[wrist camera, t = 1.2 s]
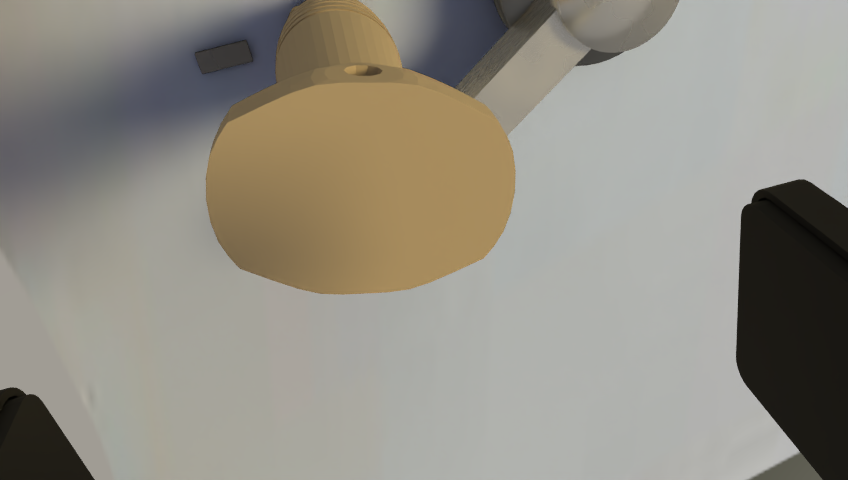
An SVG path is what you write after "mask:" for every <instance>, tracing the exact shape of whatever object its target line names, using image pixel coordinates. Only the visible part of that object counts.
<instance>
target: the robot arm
mask: <svg viewBox="0 0 848 480" xmlns="http://www.w3.org/2000/svg"><path fill="white" fill-rule="evenodd" d="M736 362H737V366H738V370H739V373H740V375H741V377H742V379H743V381H744V383H745V384H746V385H747V387H748V388H749V389H750V390H751V392H752V393H753V394H754V395H755V397H756V398H757V399H758V400H759V402H760V403H761V404H762V405H763V406H764V408H765V409H766V410H767V411H768V413H769V414H770V415H771V416H772V418H773V419H774V420H775V421H776V423H777V424H778V425H779V426H780V427H781V429H782V430H783V431H784V432H785V434H786V435H787V436H788V437H789V439H790V440H791V441H792V442H793V443H794V445H795V446H796V447H797V448H798V450H799V451H800V452H801V453H802V454H803V455H804V457H805V458H806V459H807V461H808V462H809V463H810V464H811V466H812V467H813V468H814V469H815V471H816V472H817V473H818V474H819V475H820V477H821V478H822V479H823V480H848V208H847V207H845V206H844V205H842V204H841V203H840V202H838V201H837V200H835V199H834V198H832V197H831V196H829V195H828V194H827V193H825V192H824V191H822V190H821V189H819V188H818V187H816V186H815V185H813V184H812V183H811V182H808V181H806V180H804V179H803V180H795V181H791V182H787V183H784V184H780V185H776V186H772V187H768V188H765V189H761V190H758V191H757V192H756V193H755V194H754V196H753V198H752V203H751V204H747V205H746V206H744V208H743V210H742V214H741V234H740V262H739V290H738V318H737V346H736ZM0 480H94V478H93V477H92V475H91V474H90V472H89V471H88V469H87V468H86V466H85V465H84V463H83V462H82V461H81V459H80V457H79V456H78V454H77V453H76V451H75V450H74V448H73V447H72V445H71V444H70V442H69V441H68V439H67V438H66V436H65V435H64V433H63V432H62V430H61V429H60V427H59V426H58V424H57V423H56V421H55V420H54V418H53V417H52V415H51V414H50V413H49V411H48V409H47V408H46V406H45V405H44V404H43V402H42V401H41V400H40V398H39V397H37V396H36V395H32V394H29V395H26V394H25V393H24V392H23V391H21V390H20V389H18V388H7V389H3V390H0Z"/></svg>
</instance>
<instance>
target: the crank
mask: <svg viewBox="0 0 848 480" xmlns="http://www.w3.org/2000/svg"><path fill="white" fill-rule="evenodd" d="M678 2H679V0H535V1H534V2H533V3H532V4H531V6H530V7H529V8H528V9H527V10H526V11H525V12H524V13H523V14H522V15H521V16H520V18H519V19H518V20H517V21H516V22H515V23H514V24H513V25H512V26H511V27H510V28H509V29H508V31H507V32H506V33H505V34H504V35H503V36H502V37H501V38H500V39H499V40H498V41H497V43H496V44H495V45H494V46H493V47H492V48H491V49H490V50H489V51H488V52H487V53H486V54H485V56H484V57H483V58H482V59H481V60H480V61H479V62H478V63H477V64H476V65H475V66H474V67H473V69H472V70H471V71H470V72H469V73H468V74H467V75H466V76H465V77H464V78H463V79H462V81H461V82H460V83H459V84H458V85H457V86H456V87H455V88H454V89H456V90H458V91H460V92H462V93H464V94H466V95H468V96H470V97H472V98H474V99H476V100H478V101H479V102H481V103H483V104H485V105H486V106H487V107H488V108H489V109H490V110H491V112H492V113H493V114H494V116H495V117H496V118H497V120H498V121H499V123H500V125H501V126H502V128H503V130H504V132H505V133H506V135H508V134H509V133H510V132H511V131H512V130H513V129H514V128H515V127H516V126H517V125H518V124H519V123H520V122H521V121H522V120H523V119H524V118H525V117H526V116H527V115H528V114H529V113H530V112H531V111H532V110H533V108H534V107H535V106H536V105H537V104H538V103H539V102H540V101H541V100H542V99H543V98H544V97H545V96H546V95H547V94H548V93H549V92H550V91H551V90H552V89H553V88H554V87H555V86H556V85H557V84H558V83H559V82H560V81H561V80H562V79H563V78H564V76H565V75H566V74H567V73H568V72H569V71H570V70H571V69H572V68H573V67H574V66H575V65H576V64H577V63H578V62H579V61H580V60H581V59H582V58H583V57H584V56H585V55H586V54H587V53H588V52H589V51H590V50H591V49H593V50H596V51H600V52H607V53H617V52H624V51H627V50H631V49H633V48H636V47H638V46H640V45H642V44H644V43H645V42H647V41H648V40H650V39H651V38H652V37H654V36H655V35H656V34H657V33H658V32H659V31H660V30H661V29H662V28H663V27H664V26H665V25H666V23H667V22H668V20H669V19H670V18H671V16H672V14H673V12H674V11H675V9H676V6H677V4H678Z"/></svg>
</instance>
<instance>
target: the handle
mask: <svg viewBox="0 0 848 480" xmlns="http://www.w3.org/2000/svg"><path fill="white" fill-rule="evenodd" d="M275 71H276V72H275V73H276V81H277V83H276V84H274V85H272V86H269V87H267V88H265V89H263V90H261V91H259V92H257V93H255V94H253V95H251V96H249V97H247V98H246V99H244V100H242V101H240V102H238V103H236V104H234V105H233V106H232V107H231V108H230V110H229V111H228V113H227V115H226V116H225V118H224V119H223V121H222V123H221V125H220V127H219V129H218V132H217V134H216V136H215V139H214V141H213V145H212V148H211V152H210V156H209V162H208V168H207V174H206V201H207V206H208V211H209V216H210V221H211V224H212V227H213V229H214V232H215V234H216V237H217V239H218V242H219V243H220V245H221V246H222V248H223V249H224V250H225V252H226V253H227V255H228V256H229V257H230V258H231V260H232V261H233V262H234V263H235V264H236V265H237V266H238V267H239V268H240V269H242V270H245V271H248V272H251V273H254V274H256V275H259V276H262V277H265V278H268V279H270V280H273V281H276V282H279V283H282V284H285V285H288V286H292V287H295V288H298V289H302V290H306V291H311V292H315V293H320V294H361V293H382V292H392V291H400V290H407V289H411V288H414V287H417V286H420V285H424V284H427V283H430V282H432V281H434V280H437V279H439V278H441V277H444V276H446V275H448V274H450V273H453V272H455V271H457V270H459V269H461V268H464V267H466V266H468V265H470V264H472V263H475V262H477V261H479V260H481V259H483V258H484V257H485V256H486V255H487V254H488V253H489V251H490V250H491V249H492V248H493V247H494V245H495V244H496V242H497V241H498V239H499V237H500V236H501V234H502V233H503V231H504V228H505V226H506V223H507V221H508V218H509V215H510V212H511V207H512V203H513V198H514V193H515V164H514V157H513V150H512V148H511V145H510V143H509V140H508V138H507V135H506V133H505V132H504V130H503V128H502V126H501V125H500V123H499V121H498V120H497V118H496V117H495V116H494V114H493V113H492V112H491V110H490V109H489V108H488V107H487V106H486V105H485V104H483V103H481V102H479V101H478V100H476V99H474V98H472V97H470V96H468V95H466V94H464V93H462V92H460V91H458V90H456V89H454V88H453V87H451V86H448V85H446V84H444V83H442V82H439V81H437V80H435V79H433V78H430V77H428V76H425V75H423V74H420V73H417V72H415V71H412V70H409V69H405V68H402V64H401V60H400V56H399V53H398V50H397V48H396V45H395V43H394V41H393V39H392V37H391V35H390V34H389V32H388V30H387V29H386V27H385V26H384V24H383V23H382V22H381V21H380V20H379V18H378V17H377V16H376V15H375V14H374V13H373V12H372V11H371V10H370V9H369V8H368V7H366V6H365V5H364V4H362V3H360V2H359V1H357V0H306V1H305V2H303V3H302V4H300V5H299V6H295V7H294V8H292V10H291V12H290V14H289V16H288V19H287V21H286V23H285V25H284V27H283V30H282V32H281V35H280V38H279V41H278V45H277V50H276V69H275Z"/></svg>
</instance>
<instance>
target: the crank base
mask: <svg viewBox="0 0 848 480" xmlns="http://www.w3.org/2000/svg"><path fill="white" fill-rule="evenodd" d="M534 1H535V0H494V3H495V6H496V9H497V11H498V13H499V15H500V17H501V19H502V21H503V23H504V24H505V25H506V27H507V28H508V29H509V28H510V27H511V26H512V25H513V24H514V23H515V22H516V21H517V20H518V19H519V18H520V16H521V15H522V14H523V13H524V12H525V11H526V10H527V9H528V8H529V7H530V6H531V4H532V3H533V2H534ZM621 53H623V52H617V53H607V52H600V51H596V50H593V49H591V50H590V51H589V52H588V53H587V54H586V55H585V56H584V57H583V58H582V59H581V60H580V61H579V62H578V63H577V64H576V65H575V66H582V65H591V64H596V63H600V62H603V61H606V60H609V59H611V58H613V57H615V56H617V55H619V54H621ZM195 56H196V59H197V62H198V64H199V67H200V70H201V72H202V74H205V73H209V72H212V71H216V70H220V69H224V68H228V67H232V66H236V65H240V64H244V63H248V62H252V61H253V59H252V56H251V53H250V50H249V47H248V44H247V41H246V40H243V41H239V42H235V43H232V44H228V45H224V46H220V47H216V48H212V49H208V50H204V51H200V52H196V53H195Z"/></svg>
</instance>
